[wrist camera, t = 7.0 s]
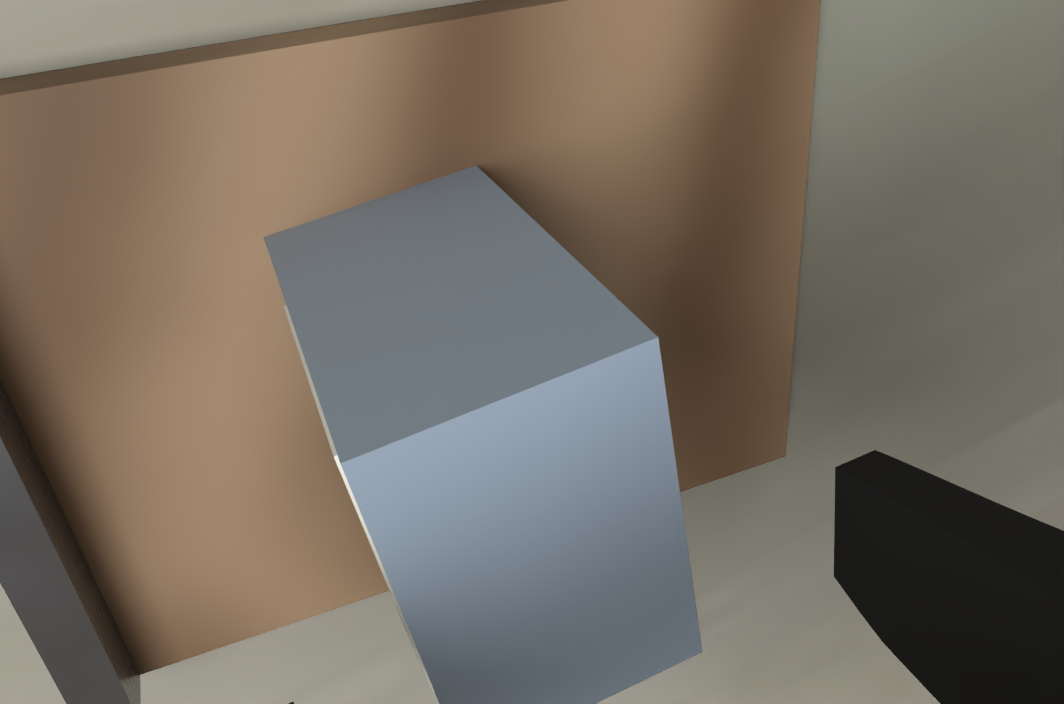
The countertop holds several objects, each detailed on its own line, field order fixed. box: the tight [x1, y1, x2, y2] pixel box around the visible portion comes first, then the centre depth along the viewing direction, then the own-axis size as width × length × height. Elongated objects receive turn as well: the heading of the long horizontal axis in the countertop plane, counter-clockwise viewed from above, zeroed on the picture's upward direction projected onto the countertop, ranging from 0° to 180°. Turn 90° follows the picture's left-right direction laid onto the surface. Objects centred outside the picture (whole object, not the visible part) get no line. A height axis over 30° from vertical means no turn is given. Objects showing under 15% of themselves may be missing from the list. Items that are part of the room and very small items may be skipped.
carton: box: [263, 166, 702, 704], centre depth 15 cm, size 4×6×7 cm
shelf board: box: [0, 0, 821, 675], centre depth 19 cm, size 16×12×1 cm
